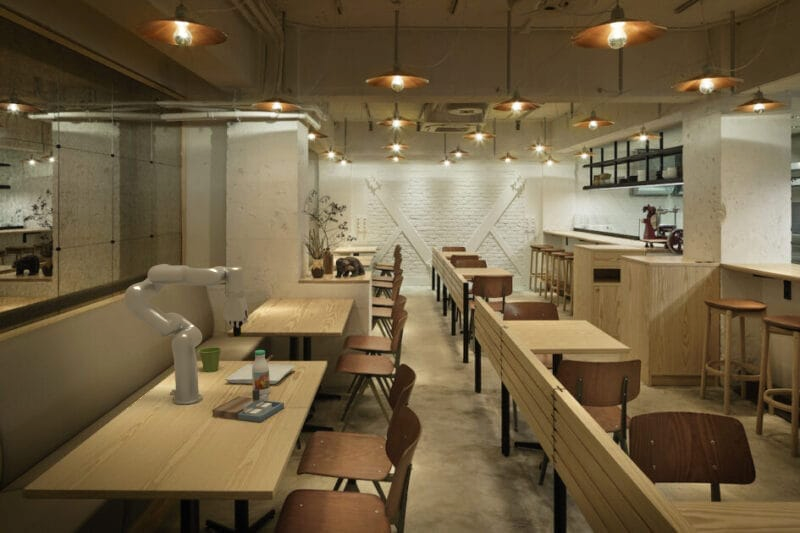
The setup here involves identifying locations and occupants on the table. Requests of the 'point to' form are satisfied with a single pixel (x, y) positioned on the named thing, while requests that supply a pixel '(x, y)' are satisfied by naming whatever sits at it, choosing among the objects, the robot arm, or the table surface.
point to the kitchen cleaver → (269, 358)
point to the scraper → (255, 400)
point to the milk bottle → (260, 373)
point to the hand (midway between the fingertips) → (237, 335)
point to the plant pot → (210, 358)
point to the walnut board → (231, 408)
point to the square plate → (246, 373)
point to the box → (265, 415)
